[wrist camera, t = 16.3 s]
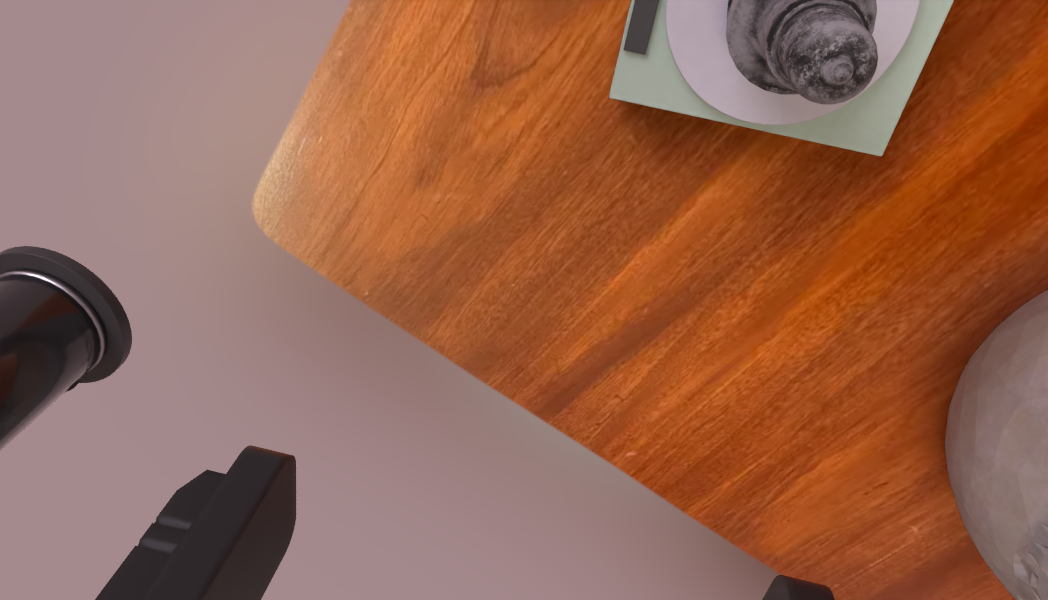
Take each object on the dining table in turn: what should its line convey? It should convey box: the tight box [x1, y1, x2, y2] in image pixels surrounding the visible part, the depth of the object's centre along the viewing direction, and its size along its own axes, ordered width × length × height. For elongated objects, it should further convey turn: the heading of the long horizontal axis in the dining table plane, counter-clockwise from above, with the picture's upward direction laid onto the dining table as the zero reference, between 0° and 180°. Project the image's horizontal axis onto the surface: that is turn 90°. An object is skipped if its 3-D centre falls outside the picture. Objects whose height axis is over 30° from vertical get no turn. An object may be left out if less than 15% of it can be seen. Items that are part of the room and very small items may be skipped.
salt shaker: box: [726, 0, 878, 104], centre depth 28 cm, size 6×6×12 cm
